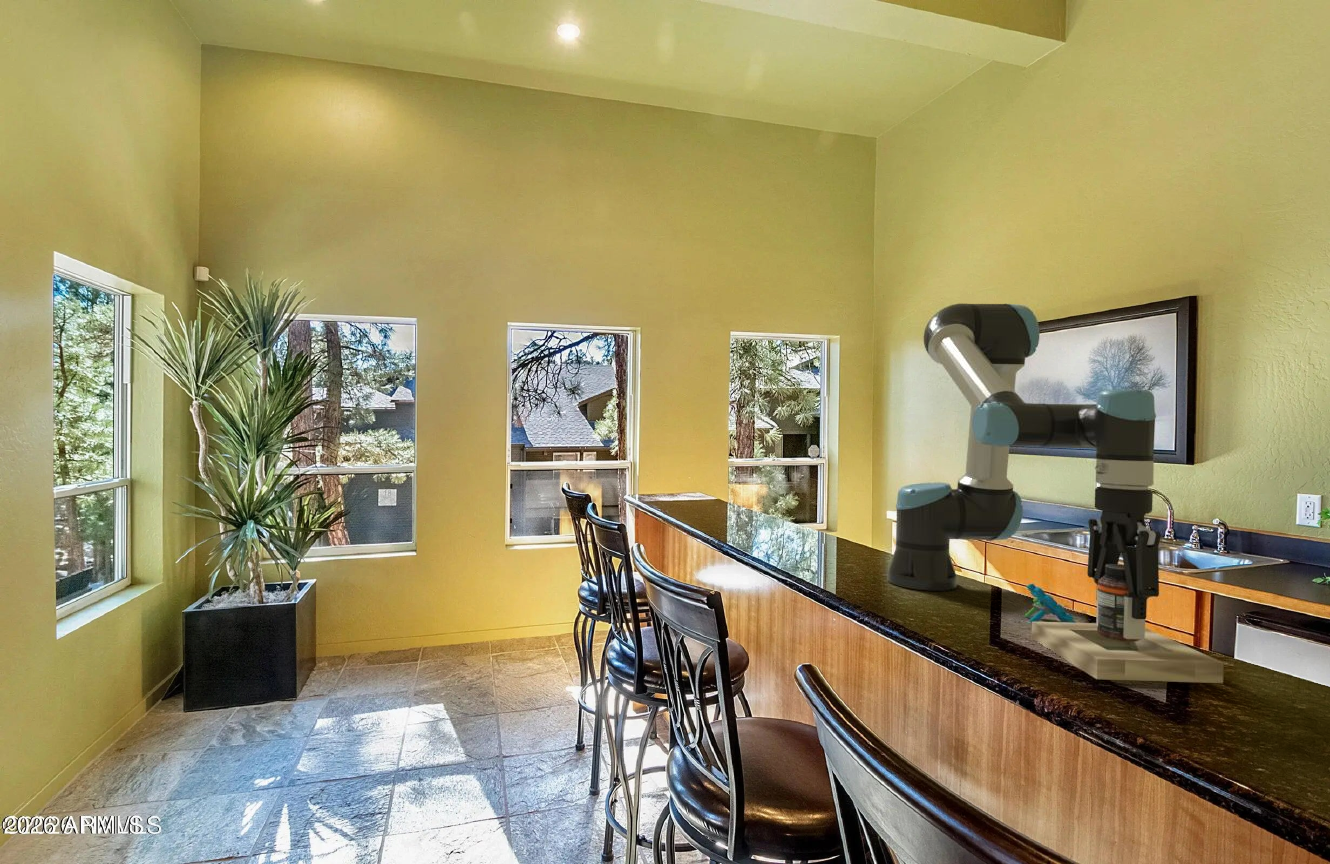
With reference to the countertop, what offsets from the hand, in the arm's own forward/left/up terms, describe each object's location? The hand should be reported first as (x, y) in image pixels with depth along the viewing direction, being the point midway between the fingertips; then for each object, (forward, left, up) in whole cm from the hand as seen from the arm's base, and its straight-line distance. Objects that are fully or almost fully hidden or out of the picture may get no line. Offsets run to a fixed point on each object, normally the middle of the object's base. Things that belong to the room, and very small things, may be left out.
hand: (1119, 631), depth 104 cm
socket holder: (0, 0, -4) cm, 4 cm away
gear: (-18, -1, -5) cm, 19 cm away
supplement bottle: (0, 0, -1) cm, 1 cm away
